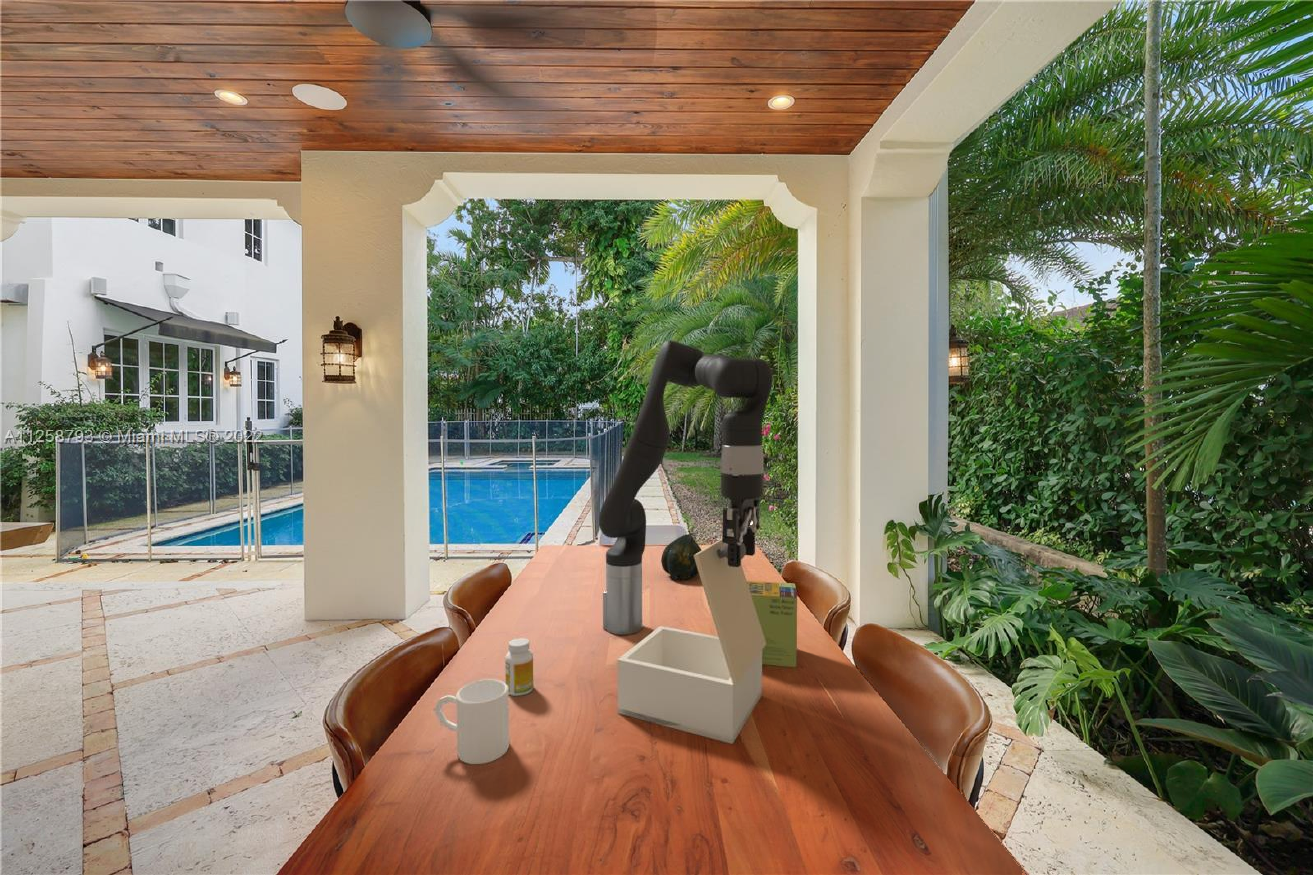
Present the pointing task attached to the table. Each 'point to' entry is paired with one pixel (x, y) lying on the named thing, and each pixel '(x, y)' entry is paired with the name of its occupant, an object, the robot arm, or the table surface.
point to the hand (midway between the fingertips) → (741, 560)
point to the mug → (479, 720)
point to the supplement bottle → (519, 667)
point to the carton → (686, 684)
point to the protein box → (777, 621)
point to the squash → (681, 557)
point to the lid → (731, 608)
